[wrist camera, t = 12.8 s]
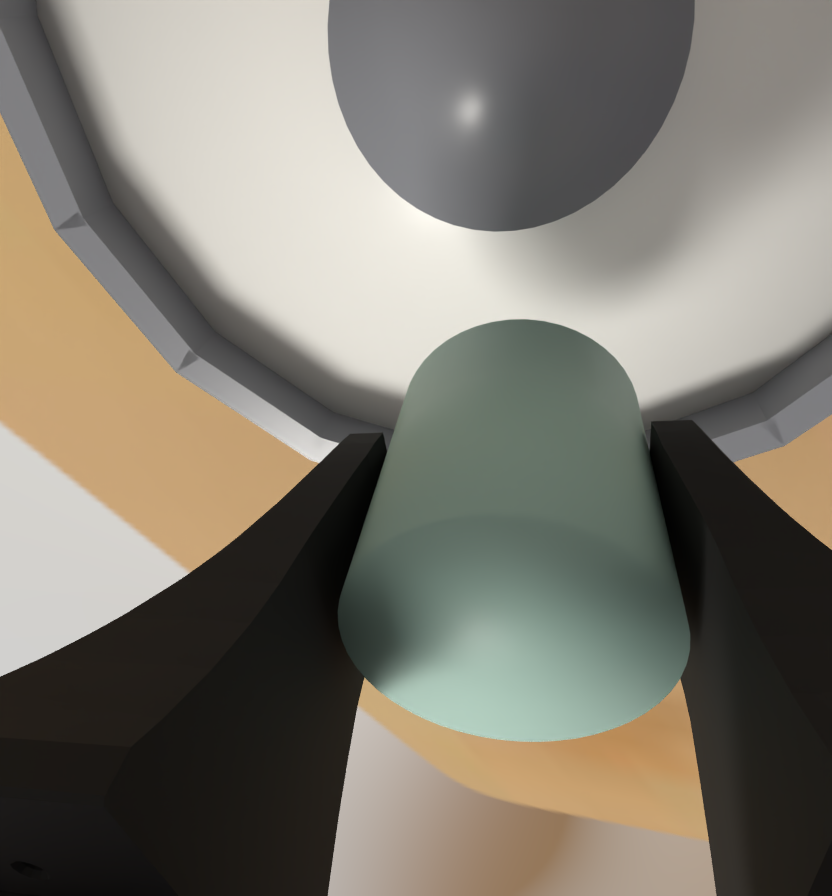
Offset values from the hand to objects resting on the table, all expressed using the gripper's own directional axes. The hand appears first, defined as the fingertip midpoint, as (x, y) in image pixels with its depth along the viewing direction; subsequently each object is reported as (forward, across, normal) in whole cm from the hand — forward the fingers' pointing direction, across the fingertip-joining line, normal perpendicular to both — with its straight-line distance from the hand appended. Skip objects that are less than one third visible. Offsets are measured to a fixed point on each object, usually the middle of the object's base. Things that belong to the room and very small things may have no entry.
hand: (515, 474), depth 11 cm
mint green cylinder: (+1, 0, 0) cm, 1 cm away
